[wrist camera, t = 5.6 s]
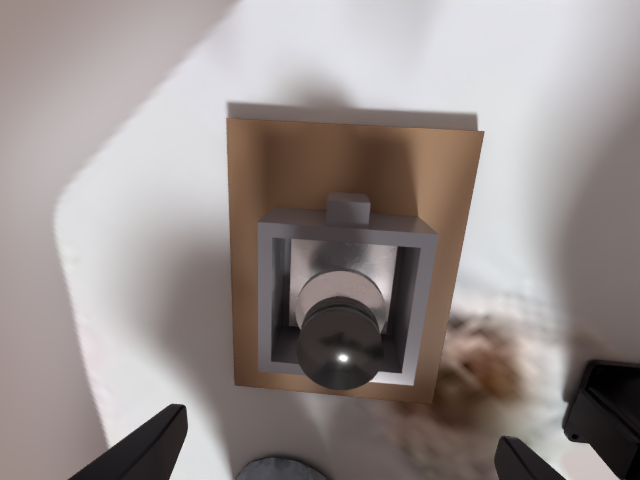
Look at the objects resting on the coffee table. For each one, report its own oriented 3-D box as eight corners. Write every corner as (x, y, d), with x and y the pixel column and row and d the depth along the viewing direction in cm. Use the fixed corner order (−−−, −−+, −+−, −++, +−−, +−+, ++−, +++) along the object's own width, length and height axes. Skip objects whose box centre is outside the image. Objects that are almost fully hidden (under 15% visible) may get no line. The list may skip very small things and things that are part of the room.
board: (478, 131, 17) (484, 131, 16) (428, 395, 22) (431, 404, 22) (231, 119, 18) (226, 118, 17) (238, 377, 23) (234, 385, 22)
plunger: (396, 237, 18) (429, 290, 11) (384, 328, 20) (406, 422, 13) (293, 230, 18) (264, 277, 11) (290, 320, 20) (264, 408, 13)
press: (421, 195, 18) (443, 208, 14) (399, 341, 20) (413, 385, 17) (275, 186, 18) (257, 196, 14) (273, 330, 21) (258, 371, 17)
